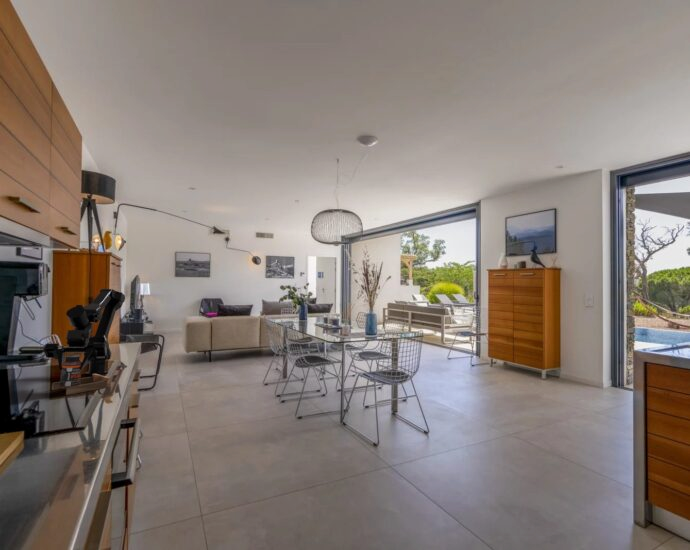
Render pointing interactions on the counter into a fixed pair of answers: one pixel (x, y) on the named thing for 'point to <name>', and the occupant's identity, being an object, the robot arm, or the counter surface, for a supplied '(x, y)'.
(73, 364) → the supplement bottle
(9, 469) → the counter surface
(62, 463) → the counter surface
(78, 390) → the comb channel
